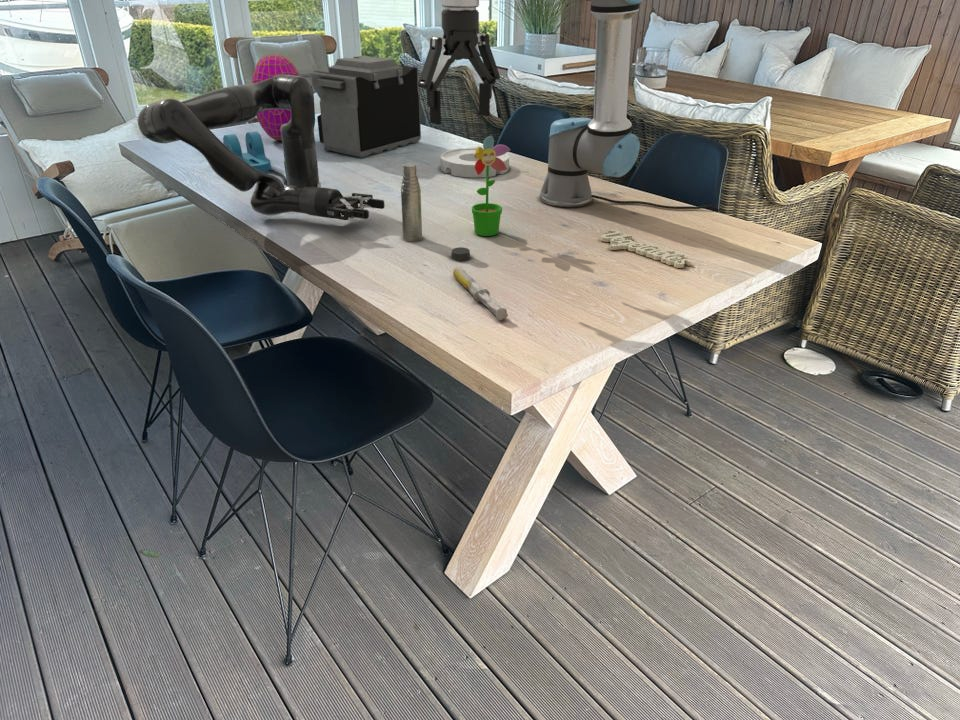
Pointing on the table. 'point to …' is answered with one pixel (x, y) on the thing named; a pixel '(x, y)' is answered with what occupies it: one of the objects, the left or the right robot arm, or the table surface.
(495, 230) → the potted flower
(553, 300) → the table surface
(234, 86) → the left robot arm
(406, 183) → the bottle
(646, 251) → the decorative sign
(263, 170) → the camera mount
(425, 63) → the right robot arm
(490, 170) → the ashtray
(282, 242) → the table surface
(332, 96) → the cooler box
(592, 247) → the table surface
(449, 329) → the table surface
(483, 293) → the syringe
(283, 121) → the decorative egg
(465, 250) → the cap
